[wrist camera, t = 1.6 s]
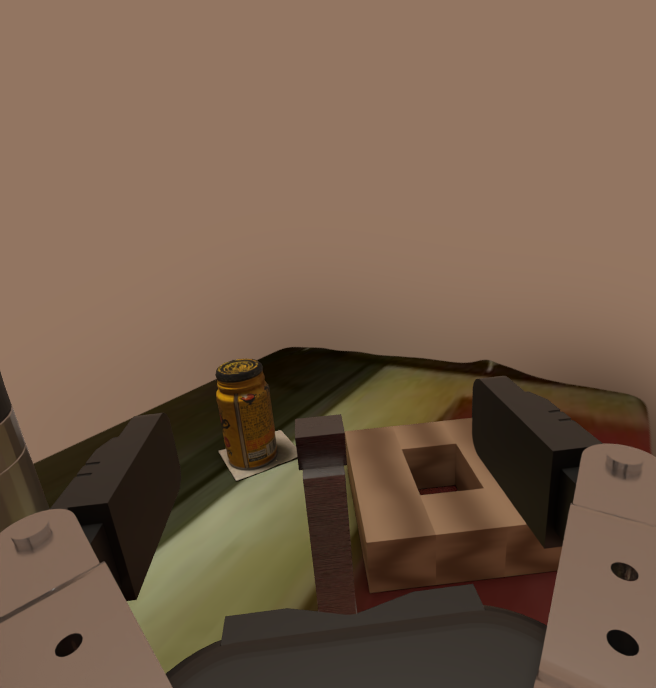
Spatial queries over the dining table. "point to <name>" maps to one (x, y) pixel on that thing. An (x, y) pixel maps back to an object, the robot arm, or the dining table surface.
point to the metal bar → (327, 510)
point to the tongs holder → (435, 510)
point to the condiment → (249, 420)
